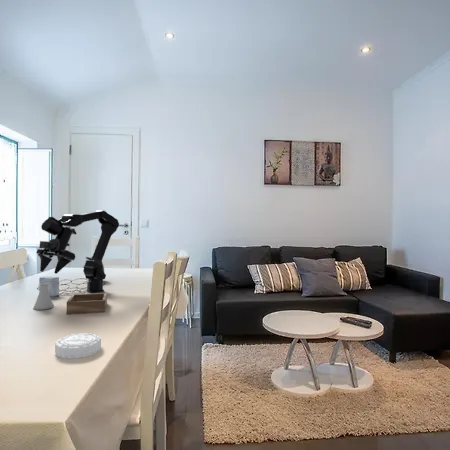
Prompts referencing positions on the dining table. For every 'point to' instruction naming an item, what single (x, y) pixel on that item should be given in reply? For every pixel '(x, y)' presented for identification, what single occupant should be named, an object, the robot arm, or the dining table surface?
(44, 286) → the flask
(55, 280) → the medicine box
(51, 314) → the dining table surface
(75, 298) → the walled box
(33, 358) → the dining table surface
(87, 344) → the mooncake
